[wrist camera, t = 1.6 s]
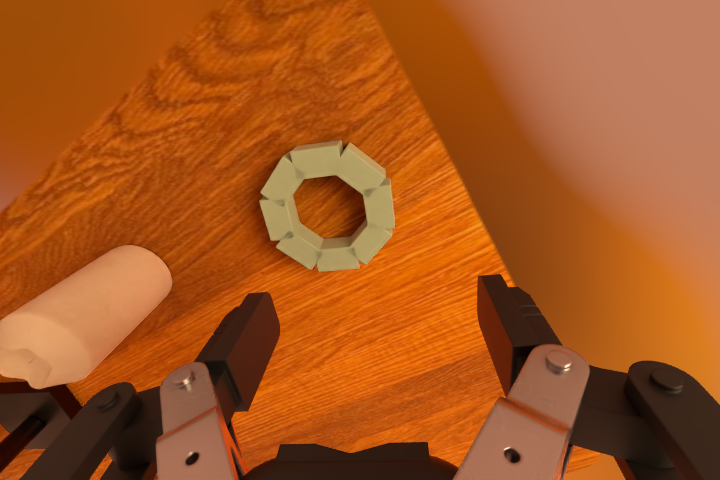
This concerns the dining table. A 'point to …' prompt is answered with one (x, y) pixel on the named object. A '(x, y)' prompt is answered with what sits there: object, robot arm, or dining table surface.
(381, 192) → the ring
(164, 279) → the candle
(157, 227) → the dining table surface
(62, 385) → the stand
